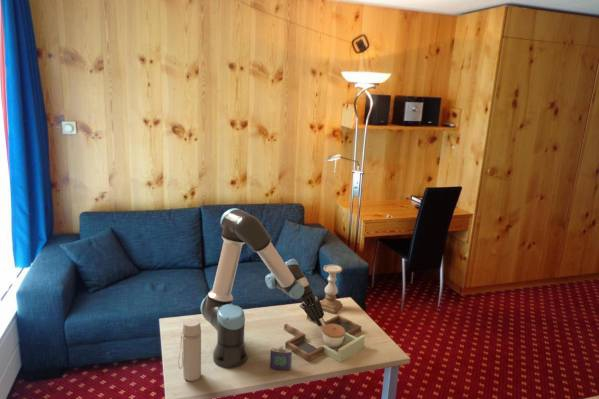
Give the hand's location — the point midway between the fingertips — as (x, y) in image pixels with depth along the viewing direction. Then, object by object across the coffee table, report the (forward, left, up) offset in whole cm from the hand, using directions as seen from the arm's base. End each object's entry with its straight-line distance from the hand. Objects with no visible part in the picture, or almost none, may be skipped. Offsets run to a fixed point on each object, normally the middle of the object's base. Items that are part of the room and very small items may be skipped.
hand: (325, 331), depth 218 cm
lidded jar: (+2, -6, -4) cm, 7 cm away
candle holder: (+13, +29, -4) cm, 32 cm away
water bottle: (-65, -17, -4) cm, 67 cm away
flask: (-27, -19, -4) cm, 33 cm away
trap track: (-1, 0, -4) cm, 4 cm away
